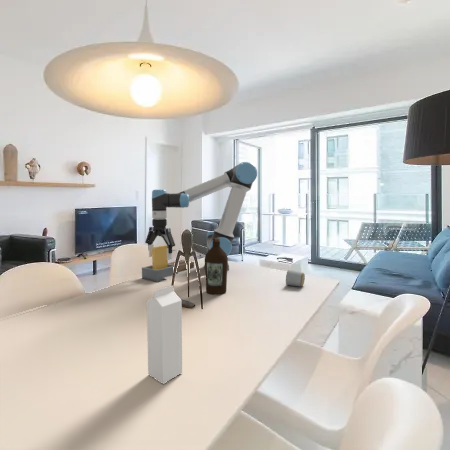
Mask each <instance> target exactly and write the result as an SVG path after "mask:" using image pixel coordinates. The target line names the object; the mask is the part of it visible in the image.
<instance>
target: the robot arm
mask: <svg viewBox="0 0 450 450" xmlns="http://www.w3.org/2000/svg"><path fill="white" fill-rule="evenodd" d="M257 177H258V169H257V166H255V165H254V163H251V162H248V161H242V162H239V164H237V165H235V166H234V167H233V168H230V169H229V170H227V171H224V173H223V174H222V175H219V176H217V177H215V178H211V179H210V180H209V179H208V180H207V181H204V182H202V183H200V184H198V185H194V186H192V187H190V188H188V189H185V190H183V191H180V192H177V193H170V192H169V193H168V192H167V190H166V189H152V191H151V208H152V209H151V218H152V226H149V228H148V233H147V236H146V238H145V241H144V242H145V244H147V248H148V257H149V258H151V257H152V247H155V246H154V242H155V240H156V238H157V237H160V238H162V239H163V241H164V243H165V245H167V260H172V258H173V257H172V254H173V247H176V243H175V240H174V237H173V235H172V231H171V228H170V227H168V228H167V225H168V221H167V213H168V212H167V208H174V209H175V208H176V209H177V208H179V209H180V208H182V209H184V208H189V207H190V203H192V202H194V201H197V200H199V199H201V198H205V197H207V196H210V195H211V194H214V193H217V192H218V191H222V190H223V189H226V188H230V191H229V195H228V198H227V200H226V203H225V206H224V209H223V213H222V215H221V218H220V221H219V224H218V226H217V228H216V229H214V230H213V231H208V232H207V233H206V253H207V252H208V251H209V250H210V249H211V248H212V246H213V238H220V247H221V248H222V249H223V251H224V252H225V253H226V254H227V257H228V256H229V255H230V254H231V252H232V250H233V249H232V248H233V245H232V244H233V241H234V239H235V236H234V230H235V227H236V224H237V221H238V218H239V216H240V215H239V214H240V212H241V209H242V206H243V204H244V200H245V197H246V196H247V195H246V194H247V192H249V191H251V189H252V186H253V183H254V182H255V181H256V180H257ZM203 268H204V269H205V264H204V265H203ZM229 270H230V265H229V264H228V266H227V272H228V271H229Z"/></svg>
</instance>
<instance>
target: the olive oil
mask: <svg viewBox="0 0 450 450" xmlns="http://www.w3.org/2000/svg"><path fill="white" fill-rule="evenodd" d="M204 265H205V268H204V272H205V273H204V274H205V293H206V294H209V295H212V296H219V295H221V296H222V295H224V294H226V293H227V287H228V286H227V281H228V280H227V279H228V271H227V266H228V265H229V258H228V256H227V254H226V253H225V252H224V251H223V249H222V248H221V247H220V238H213V246H212V248H211V249H210V250H209V251H208V252H207V251H206V254H205V256H204Z"/></svg>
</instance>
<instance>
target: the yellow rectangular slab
mask: <svg viewBox="0 0 450 450" xmlns="http://www.w3.org/2000/svg"><path fill="white" fill-rule="evenodd" d="M167 247H168V246H167V244H162V245H158V246H154V247H152V259H151V260H152V261H151V262H152V265H153V269H155V270H160V269H164V268H167V267H168V263H169V261H168V260H167Z"/></svg>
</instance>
